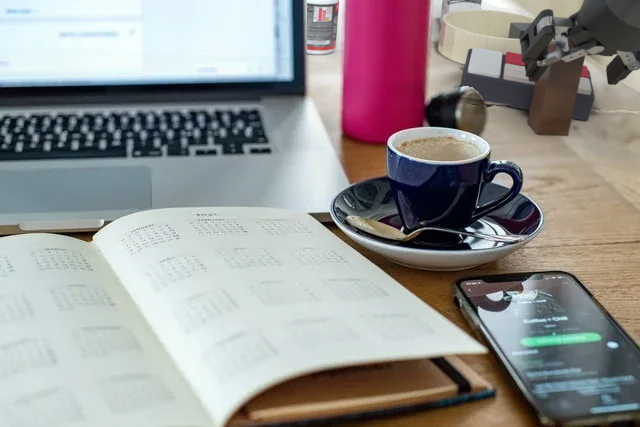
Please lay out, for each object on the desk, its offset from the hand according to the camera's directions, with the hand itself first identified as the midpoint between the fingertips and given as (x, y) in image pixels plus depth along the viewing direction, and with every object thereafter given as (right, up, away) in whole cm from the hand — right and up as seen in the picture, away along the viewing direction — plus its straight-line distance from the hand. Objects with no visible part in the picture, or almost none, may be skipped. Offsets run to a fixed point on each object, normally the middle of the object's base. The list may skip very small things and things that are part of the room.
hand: (570, 75), depth 91 cm
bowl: (-2, +6, +28) cm, 29 cm away
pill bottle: (-27, +7, +27) cm, 39 cm away
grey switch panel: (-2, -1, +15) cm, 15 cm away
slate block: (+2, +7, +29) cm, 30 cm away
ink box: (-6, +12, +39) cm, 42 cm away
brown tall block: (-1, -5, +6) cm, 8 cm away
